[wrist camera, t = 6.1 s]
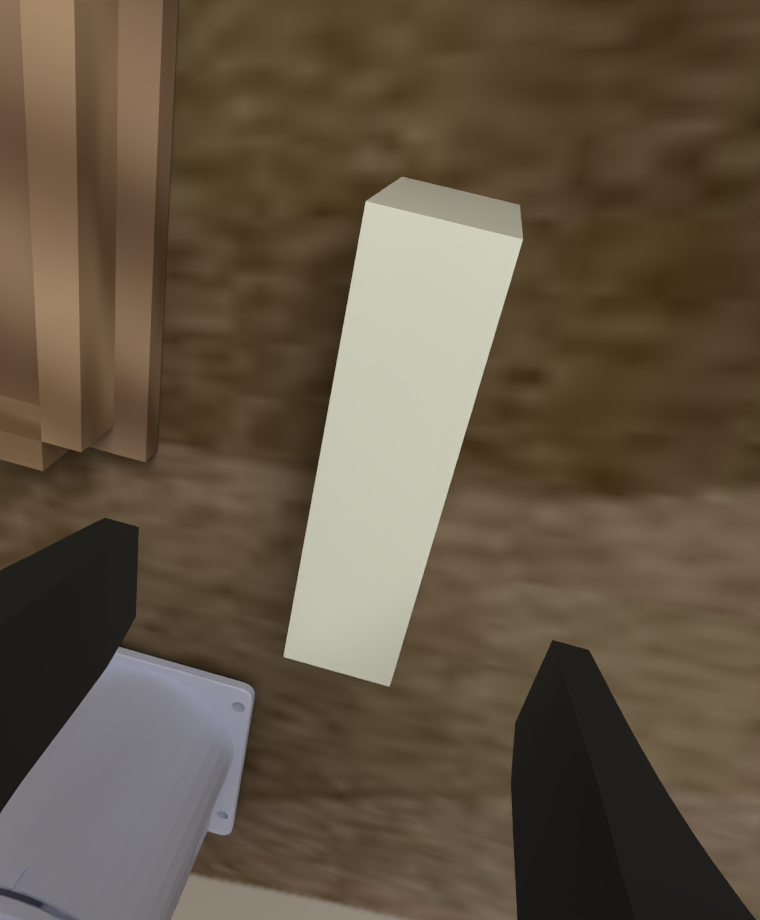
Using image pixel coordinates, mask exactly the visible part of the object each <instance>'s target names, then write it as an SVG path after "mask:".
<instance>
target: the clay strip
mask: <svg viewBox="0 0 760 920" xmlns="http://www.w3.org/2000/svg"><path fill="white" fill-rule="evenodd" d="M522 241H523V235H522V224H521V213H520V205H517V204H513V203H509V202H505V201H501V200H497V199H492V198H488V197H484V196H480V195H476V194H472V193H468V192H463V191H459V190H455V189H451V188H447V187H443V186H438V185H434V184H430V183H426V182H422V181H418V180H413V179H409V178H405V177H401V178H399V179H398V180H396V181H395V182H394V183H392V184H391V185H389V186H388V187H386V188H385V189H383V190H382V191H380V192H379V193H377V194H376V195H374V196H373V197H371V198H370V199H368V200H367V201H366V203H365V209H364V214H363V220H362V225H361V231H360V236H359V242H358V247H357V253H356V258H355V264H354V269H353V275H352V280H351V286H350V292H349V297H348V303H347V308H346V314H345V319H344V325H343V330H342V336H341V341H340V347H339V352H338V358H337V363H336V369H335V374H334V380H333V385H332V391H331V397H330V402H329V408H328V413H327V419H326V424H325V430H324V435H323V441H322V446H321V452H320V457H319V463H318V468H317V474H316V479H315V485H314V491H313V496H312V502H311V507H310V513H309V518H308V524H307V529H306V535H305V540H304V546H303V551H302V557H301V562H300V568H299V573H298V579H297V585H296V590H295V596H294V601H293V607H292V612H291V618H290V623H289V629H288V634H287V640H286V645H285V651H284V656H283V657H285V658H289V659H293V660H296V661H300V662H303V663H307V664H310V665H314V666H317V667H321V668H325V669H328V670H332V671H335V672H339V673H342V674H346V675H349V676H353V677H356V678H360V679H364V680H367V681H371V682H374V683H378V684H381V685H385V686H388V687H390V684H391V680H392V677H393V674H394V670H395V667H396V663H397V660H398V657H399V653H400V650H401V647H402V643H403V640H404V637H405V633H406V630H407V627H408V623H409V620H410V616H411V613H412V610H413V606H414V603H415V600H416V596H417V593H418V590H419V586H420V583H421V580H422V576H423V573H424V570H425V566H426V563H427V559H428V556H429V553H430V549H431V546H432V543H433V539H434V536H435V533H436V529H437V526H438V523H439V519H440V516H441V513H442V509H443V506H444V502H445V499H446V496H447V492H448V489H449V486H450V482H451V479H452V476H453V472H454V469H455V466H456V462H457V459H458V455H459V452H460V449H461V445H462V442H463V439H464V435H465V432H466V429H467V425H468V422H469V419H470V415H471V412H472V409H473V405H474V402H475V398H476V395H477V392H478V388H479V385H480V382H481V378H482V375H483V372H484V368H485V365H486V362H487V358H488V355H489V351H490V348H491V345H492V341H493V338H494V335H495V331H496V328H497V325H498V321H499V318H500V315H501V311H502V308H503V305H504V301H505V298H506V294H507V291H508V288H509V284H510V281H511V278H512V274H513V271H514V268H515V264H516V261H517V258H518V254H519V251H520V247H521V244H522Z"/></svg>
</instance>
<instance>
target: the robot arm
mask: <svg viewBox="0 0 760 920" xmlns="http://www.w3.org/2000/svg"><path fill="white" fill-rule="evenodd" d="M138 532H139V527H136V526H133V525H129V524H125V523H122V522H118V521H114V520H111V519H107V518H104V519H102V520H100V521H97V522H95V523H93V524H91V525H89V526H87V527H85V528H83V529H81V530H79V531H77V532H75V533H74V534H72V535H70V536H68V537H66V538H64V539H62V540H60V541H58V542H56V543H54V544H52V545H50V546H48V547H46V548H44V549H42V550H41V551H39V552H37V553H35V554H33V555H31V556H29V557H27V558H25V559H22V560H20V561H18V562H16V563H14V564H12V565H10V566H8V567H6V568H4V569H2V570H0V920H171V918H172V915H173V913H174V911H175V908H176V906H177V903H178V901H179V899H180V896H181V894H182V891H183V889H184V886H185V884H186V882H187V879H188V877H189V874H190V872H191V870H192V867H193V865H194V862H195V860H196V857H197V855H198V853H199V850H200V848H201V845H202V843H203V841H204V838H205V836H206V833H207V831H209V832H212V833H216V834H219V835H228V834H230V833H231V831H232V828H233V826H234V821H235V815H236V809H237V803H238V797H239V791H240V785H241V779H242V772H243V766H244V760H245V754H246V748H247V742H248V736H249V730H250V724H251V717H252V711H253V705H254V699H255V691H254V689H253V688H252V687H251V686H250V685H249V684H247V683H244V682H241V681H237V680H234V679H230V678H227V677H223V676H220V675H216V674H213V673H209V672H206V671H202V670H199V669H195V668H192V667H188V666H185V665H181V664H178V663H174V662H171V661H167V660H164V659H160V658H157V657H153V656H150V655H146V654H143V653H139V652H136V651H132V650H129V649H125V648H122V647H119V646H120V644H121V642H122V640H123V639H124V637H125V635H126V633H127V631H128V630H129V628H130V626H131V624H132V622H133V620H134V619H135V617H136V593H137V562H138ZM240 703H241V704H240ZM511 793H512V817H513V839H514V859H515V879H516V899H517V919H518V920H756V919H755V918H754V917H753V915H752V914H751V913H750V912H749V910H748V909H747V908H746V906H745V905H744V904H743V902H742V901H741V900H740V898H739V897H738V895H737V894H736V893H735V891H734V890H733V889H732V887H731V886H730V885H729V883H728V882H727V880H726V879H725V878H724V876H723V875H722V874H721V872H720V871H719V870H718V868H717V867H716V865H715V864H714V863H713V861H712V860H711V859H710V857H709V856H708V854H707V853H706V851H705V850H704V848H703V847H702V845H701V844H700V843H699V841H698V840H697V838H696V837H695V835H694V834H693V832H692V831H691V829H690V828H689V826H688V824H687V823H686V821H685V820H684V818H683V817H682V815H681V813H680V812H679V810H678V809H677V807H676V806H675V804H674V803H673V801H672V799H671V798H670V796H669V795H668V793H667V791H666V790H665V788H664V786H663V785H662V783H661V781H660V780H659V778H658V776H657V775H656V773H655V771H654V769H653V768H652V766H651V764H650V762H649V761H648V759H647V757H646V755H645V754H644V752H643V750H642V748H641V747H640V745H639V743H638V741H637V740H636V738H635V736H634V734H633V732H632V731H631V729H630V727H629V725H628V723H627V721H626V720H625V718H624V716H623V714H622V712H621V710H620V708H619V706H618V705H617V703H616V701H615V699H614V697H613V695H612V693H611V691H610V689H609V687H608V685H607V683H606V682H605V680H604V678H603V676H602V674H601V672H600V670H599V668H598V666H597V664H596V662H595V661H594V659H593V657H592V655H591V653H590V651H589V650H587V649H583V648H579V647H576V646H572V645H568V644H565V643H561V642H557V641H554V640H552V642H551V644H550V647H549V649H548V651H547V653H546V656H545V658H544V660H543V662H542V665H541V667H540V669H539V671H538V674H537V676H536V678H535V680H534V682H533V685H532V687H531V689H530V691H529V694H528V696H527V698H526V700H525V703H524V705H523V707H522V709H521V711H520V714H519V716H518V718H517V720H516V723H515V734H514V747H513V760H512V777H511Z"/></svg>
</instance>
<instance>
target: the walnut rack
mask: <svg viewBox="0 0 760 920" xmlns="http://www.w3.org/2000/svg"><path fill="white" fill-rule="evenodd" d="M177 21H178V0H0V460H4V461H8V462H11V463H15V464H19V465H22V466H26V467H30V468H33V469H37V470H40V471H44V470H45V469H47V468H48V467H49V466H50V465H52V464H53V463H54V462H55V461H57V460H58V459H59V458H60V457H62V456H63V455H64V454H65V453H67V452H68V451H69V450H75V451H78V452H83V451H84V450H85V449H86V448H88V447H91V448H94V449H98V450H102V451H105V452H109V453H113V454H116V455H120V456H124V457H128V458H131V459H135V460H139V461H142V462H146V461H147V460H148V459H149V458H150V457H151V456H152V455H153V454H155V453H156V452H157V444H158V422H159V401H160V380H161V359H162V338H163V317H164V296H165V275H166V254H167V232H168V211H169V190H170V169H171V148H172V127H173V106H174V85H175V64H176V42H177Z"/></svg>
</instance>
